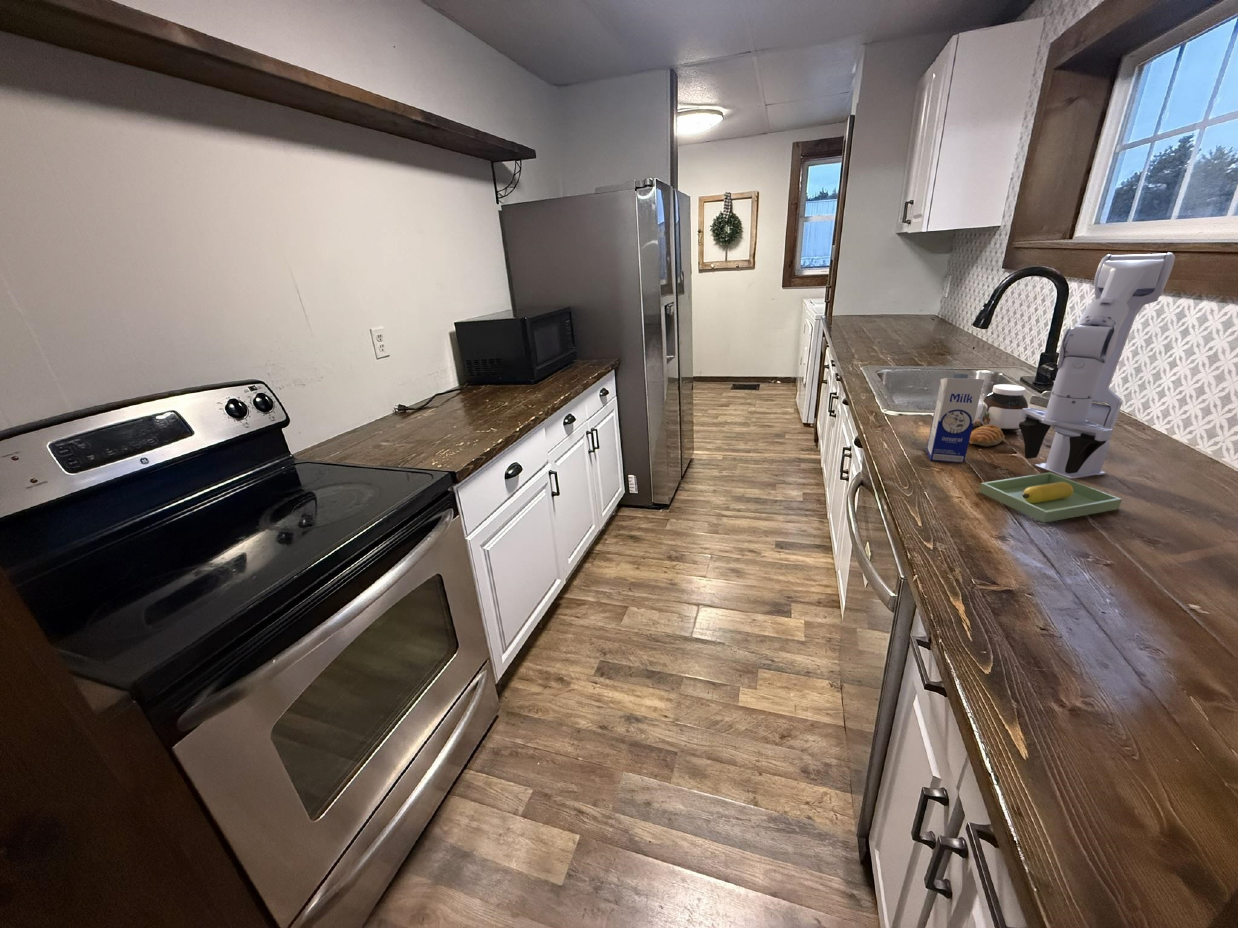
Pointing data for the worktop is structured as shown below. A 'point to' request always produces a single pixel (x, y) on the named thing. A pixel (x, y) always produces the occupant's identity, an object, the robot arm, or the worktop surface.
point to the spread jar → (1003, 407)
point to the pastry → (986, 435)
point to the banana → (1047, 492)
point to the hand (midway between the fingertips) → (1050, 464)
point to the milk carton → (953, 418)
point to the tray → (1073, 506)
